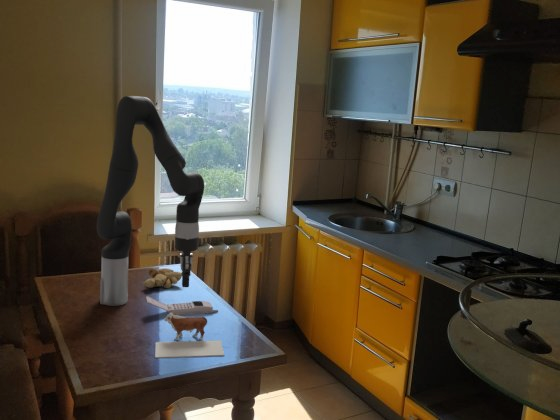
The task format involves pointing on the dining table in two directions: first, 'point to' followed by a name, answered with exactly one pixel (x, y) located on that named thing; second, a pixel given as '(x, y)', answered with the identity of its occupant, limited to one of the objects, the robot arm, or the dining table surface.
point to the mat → (188, 349)
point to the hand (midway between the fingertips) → (185, 286)
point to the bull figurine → (186, 324)
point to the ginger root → (162, 278)
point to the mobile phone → (184, 307)
